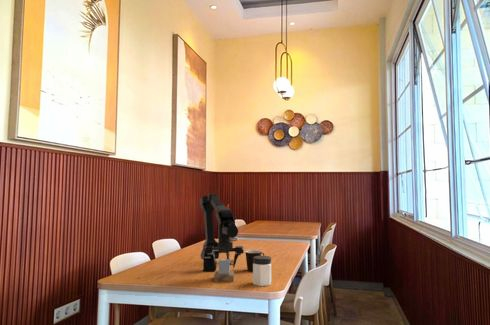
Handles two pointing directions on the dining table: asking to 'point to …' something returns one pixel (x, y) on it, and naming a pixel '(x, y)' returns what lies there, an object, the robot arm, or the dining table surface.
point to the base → (224, 277)
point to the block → (224, 266)
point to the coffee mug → (251, 258)
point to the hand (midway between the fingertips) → (224, 267)
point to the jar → (262, 270)
